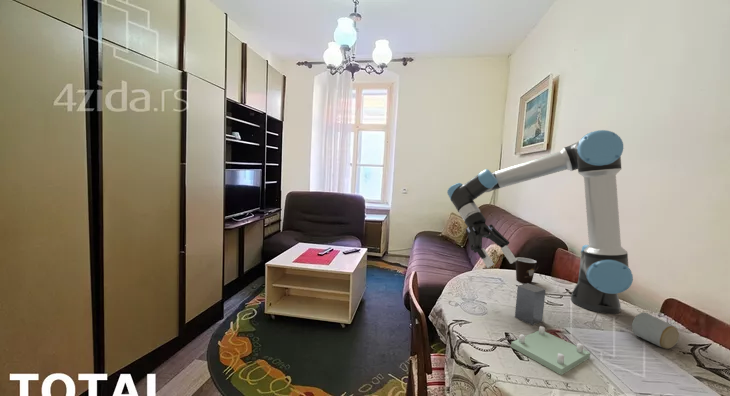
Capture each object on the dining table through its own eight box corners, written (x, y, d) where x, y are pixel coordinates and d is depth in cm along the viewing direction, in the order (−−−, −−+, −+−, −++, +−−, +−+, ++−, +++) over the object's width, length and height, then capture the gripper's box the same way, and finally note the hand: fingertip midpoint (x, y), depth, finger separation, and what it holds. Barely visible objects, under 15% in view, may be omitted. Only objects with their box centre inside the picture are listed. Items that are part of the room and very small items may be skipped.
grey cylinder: (661, 351, 85) (665, 325, 84) (629, 336, 92) (632, 312, 92) (687, 348, 87) (690, 323, 87) (653, 333, 95) (657, 310, 95)
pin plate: (540, 334, 91) (541, 323, 91) (589, 357, 80) (591, 345, 80) (510, 347, 83) (512, 335, 83) (561, 375, 72) (562, 361, 72)
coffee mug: (517, 283, 135) (519, 261, 135) (511, 277, 144) (512, 256, 143) (544, 286, 134) (547, 264, 133) (537, 279, 142) (539, 259, 141)
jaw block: (524, 313, 105) (527, 283, 104) (542, 321, 100) (545, 289, 99) (514, 317, 102) (517, 285, 101) (532, 325, 97) (535, 292, 96)
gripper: (486, 221, 129) (515, 265, 118) (444, 223, 116) (473, 273, 105) (498, 210, 124) (529, 255, 113) (456, 211, 111) (487, 262, 100)
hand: (502, 264), depth 109 cm, fingers open, 13 cm apart
